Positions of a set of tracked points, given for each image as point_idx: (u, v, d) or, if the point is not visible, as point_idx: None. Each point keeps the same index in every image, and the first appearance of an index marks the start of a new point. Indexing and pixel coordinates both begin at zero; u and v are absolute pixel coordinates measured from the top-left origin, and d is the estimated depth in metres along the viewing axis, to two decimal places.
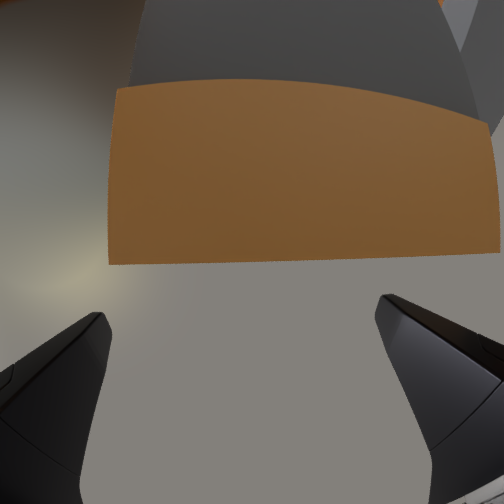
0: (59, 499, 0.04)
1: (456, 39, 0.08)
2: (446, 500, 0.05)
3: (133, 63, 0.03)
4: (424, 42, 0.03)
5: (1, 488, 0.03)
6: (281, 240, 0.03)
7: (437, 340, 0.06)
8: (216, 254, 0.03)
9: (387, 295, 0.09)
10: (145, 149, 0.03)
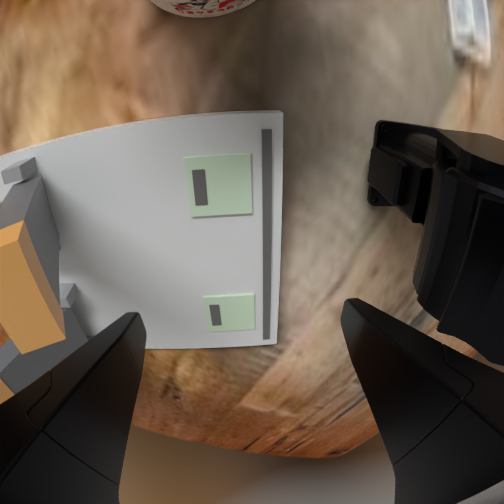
0: None
1: None
2: None
3: (24, 219, 0.10)
4: (53, 284, 0.13)
5: None
6: (35, 276, 0.10)
7: (395, 349, 0.06)
8: (28, 264, 0.09)
9: (351, 299, 0.09)
10: (24, 236, 0.09)
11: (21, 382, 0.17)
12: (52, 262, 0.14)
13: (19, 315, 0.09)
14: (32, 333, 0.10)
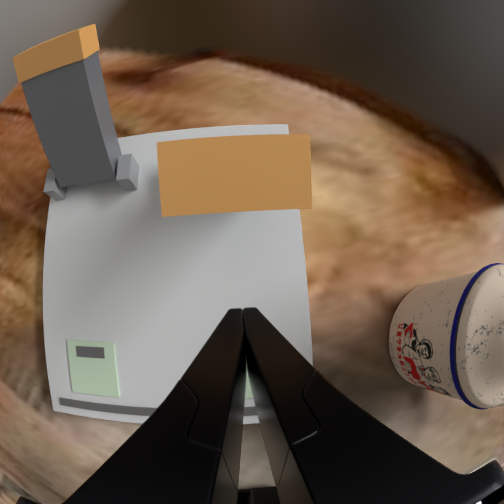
0: None
1: (104, 130, 0.17)
2: None
3: None
4: None
5: None
6: (259, 210, 0.10)
7: (257, 369, 0.06)
8: (278, 209, 0.10)
9: (247, 309, 0.09)
10: None
11: (57, 86, 0.13)
12: None
13: (218, 169, 0.10)
14: (185, 174, 0.10)
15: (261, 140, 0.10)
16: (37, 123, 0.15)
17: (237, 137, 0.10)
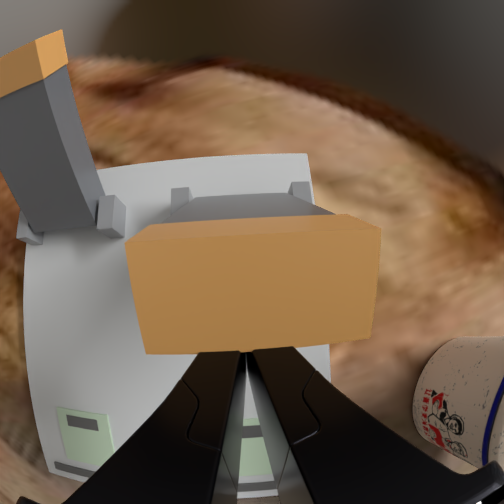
0: None
1: (78, 168, 0.13)
2: None
3: None
4: None
5: None
6: None
7: (257, 369, 0.06)
8: (323, 342, 0.07)
9: None
10: None
11: (16, 115, 0.10)
12: None
13: (231, 291, 0.06)
14: (176, 297, 0.06)
15: (304, 241, 0.06)
16: None
17: (263, 237, 0.06)
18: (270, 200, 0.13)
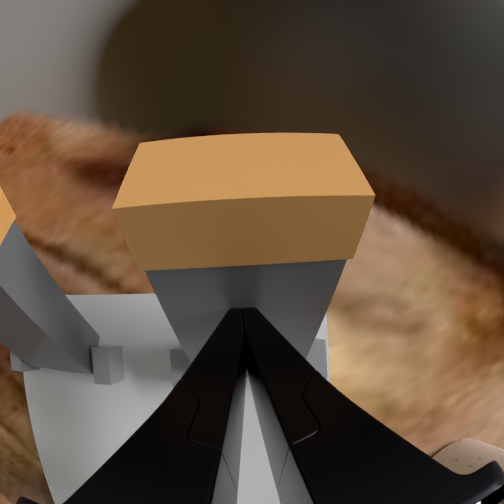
0: None
1: (61, 334, 0.11)
2: None
3: (343, 266, 0.08)
4: (185, 294, 0.08)
5: None
6: (287, 205, 0.06)
7: (257, 369, 0.06)
8: (321, 198, 0.06)
9: (247, 309, 0.09)
10: (344, 236, 0.07)
11: None
12: (205, 325, 0.09)
13: (217, 157, 0.06)
14: (167, 163, 0.06)
15: (277, 135, 0.07)
16: None
17: (245, 134, 0.07)
18: None
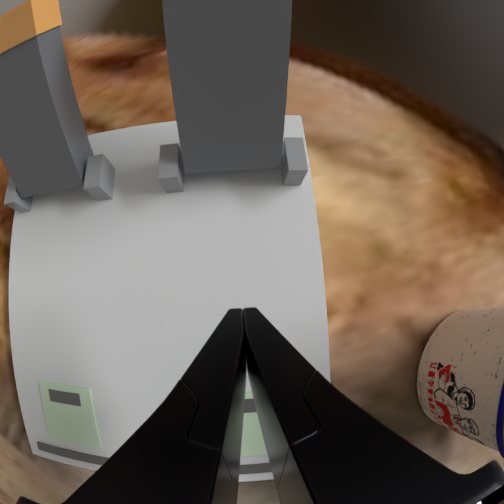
0: None
1: (66, 125, 0.12)
2: None
3: (291, 0, 0.08)
4: (185, 22, 0.09)
5: None
6: None
7: (257, 369, 0.06)
8: None
9: (248, 309, 0.09)
10: None
11: (8, 73, 0.08)
12: (195, 60, 0.10)
13: None
14: None
15: None
16: None
17: None
18: None
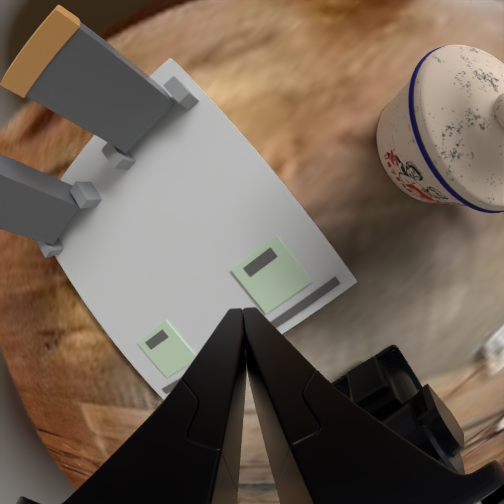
0: None
1: (43, 187, 0.18)
2: None
3: (83, 31, 0.11)
4: (48, 93, 0.13)
5: None
6: (36, 37, 0.09)
7: (257, 369, 0.06)
8: (42, 26, 0.09)
9: (248, 309, 0.09)
10: (65, 25, 0.10)
11: None
12: (72, 102, 0.14)
13: (22, 48, 0.10)
14: (12, 64, 0.10)
15: (40, 25, 0.10)
16: None
17: None
18: None
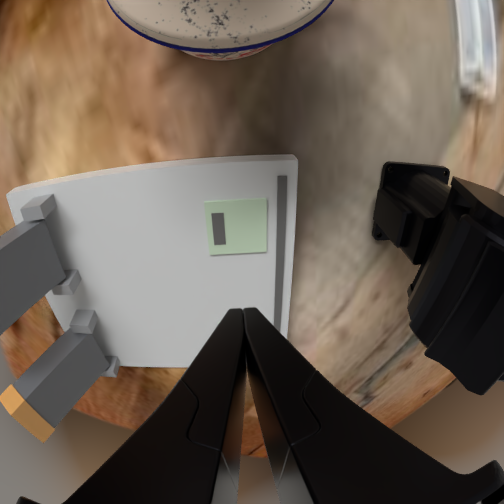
0: None
1: (60, 355, 0.20)
2: None
3: None
4: None
5: None
6: None
7: (257, 369, 0.06)
8: None
9: (247, 309, 0.09)
10: None
11: (46, 404, 0.18)
12: (3, 312, 0.15)
13: None
14: None
15: None
16: (73, 403, 0.21)
17: None
18: None
